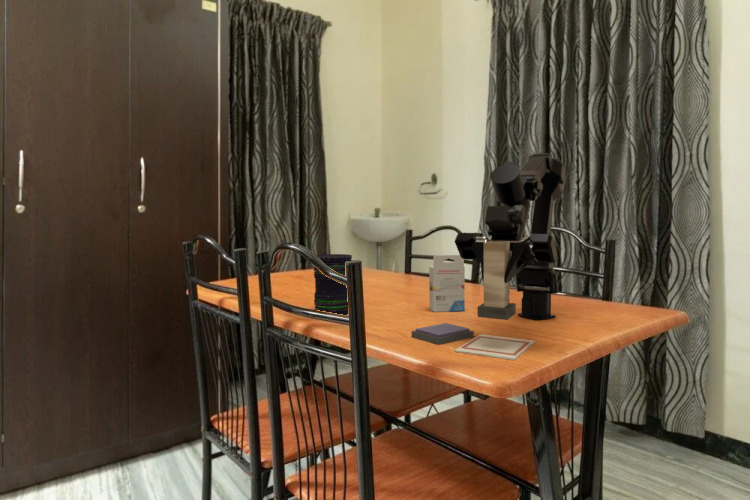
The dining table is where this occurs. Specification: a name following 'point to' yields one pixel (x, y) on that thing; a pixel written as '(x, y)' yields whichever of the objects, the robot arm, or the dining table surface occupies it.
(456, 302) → the ink box
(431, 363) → the dining table surface
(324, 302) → the storage jar
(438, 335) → the ink pad
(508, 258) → the stamp
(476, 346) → the paper
